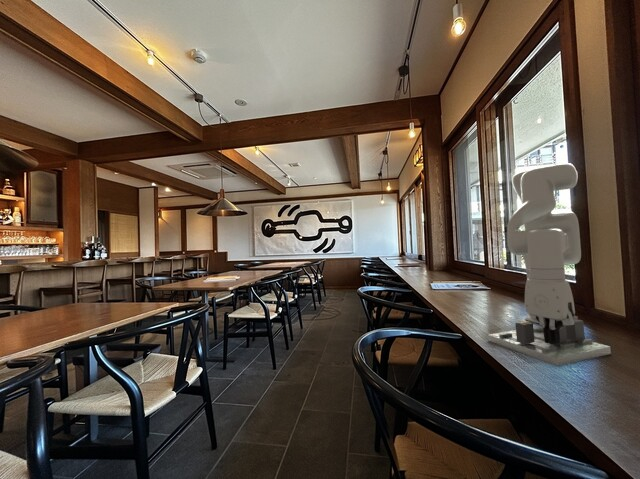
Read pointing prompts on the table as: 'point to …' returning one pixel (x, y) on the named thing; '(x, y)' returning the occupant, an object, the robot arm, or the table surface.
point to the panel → (551, 347)
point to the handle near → (575, 331)
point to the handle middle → (563, 335)
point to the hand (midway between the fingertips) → (552, 342)
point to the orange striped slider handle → (525, 332)
